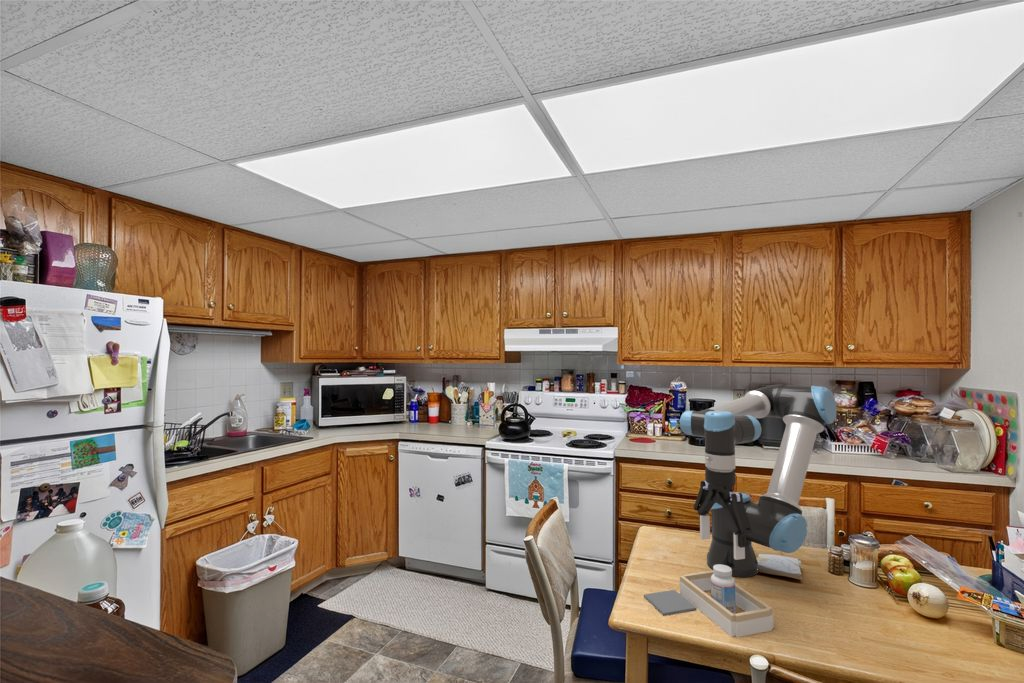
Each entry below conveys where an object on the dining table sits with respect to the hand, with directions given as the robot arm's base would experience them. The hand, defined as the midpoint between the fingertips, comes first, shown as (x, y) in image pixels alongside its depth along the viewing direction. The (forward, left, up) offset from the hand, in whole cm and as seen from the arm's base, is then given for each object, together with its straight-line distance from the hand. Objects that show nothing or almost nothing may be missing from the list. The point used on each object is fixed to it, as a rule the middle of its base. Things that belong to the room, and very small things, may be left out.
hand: (721, 548), depth 127 cm
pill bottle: (0, 0, -17) cm, 17 cm away
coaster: (+12, -7, -17) cm, 21 cm away
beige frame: (0, 0, -17) cm, 17 cm away
